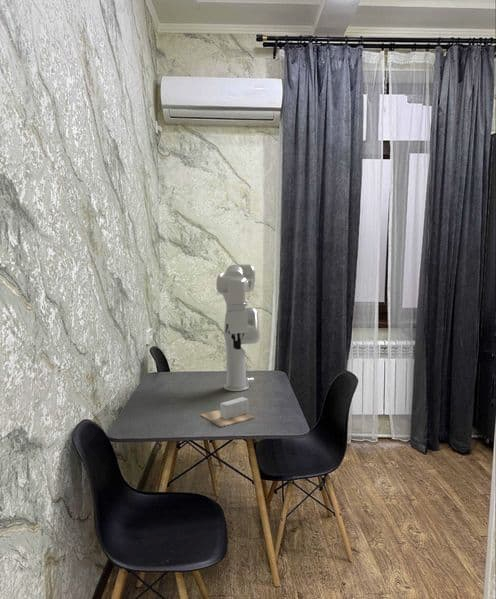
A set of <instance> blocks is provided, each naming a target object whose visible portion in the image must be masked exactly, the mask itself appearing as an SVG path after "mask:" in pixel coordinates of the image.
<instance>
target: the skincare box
mask: <svg viewBox="0 0 496 599" xmlns="http://www.w3.org/2000/svg"><path fill="white" fill-rule="evenodd" d="M249 403H250V402H249V398H246V397H245V396H244V397H243V396H242V397H237V398H234V399H231V400H227V401H224V402H221V403H220V404H219V405H220V406H219V407H220V408H219V410H220V417H222V418H224V419H226V420H227V419H230V418H233V417H237V416H240V415H243V414H246V413H247V414H249V412H250V406H249Z"/></svg>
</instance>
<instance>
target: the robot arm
mask: <svg viewBox="0 0 496 599" xmlns="http://www.w3.org/2000/svg"><path fill="white" fill-rule="evenodd" d="M255 282H256V270H255V268H254V266H253V265H252V264H248V263H247V264H231V265H229V266H227V268H226V270H225V272H221V273H219V274H218V276H217V278H216V290H217V293H219V294H221V295H222V297H223V299H224V301H225V305H226V306H225V308H226V311H225V314H224V324H223V325H224V326H223V327H224V331H223V336H224V341H225V350H226V351H225V353H226V354H225V355H226V383H225V384H223V388H224V390H226V391H230V392H242V391H247V390H248V389H249V388H250V385H249V383H252V382H254V381H255V378H254V377H247V376H246V375H247V373H246V372H247V366H246V365H247V364H246V362H247V360H246V355H247V354H246V351H245V350H244V348H243V347H242V345H255V344H258V343H259V342H260V337H261V336H260V335H261V334H260V333H261V330H260V321H259V312H258V311H257V309H256V308H255V307H247V306H248V305H247V303H246V293H252V292H253V291H254V289H255Z"/></svg>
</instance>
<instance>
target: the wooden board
mask: <svg viewBox="0 0 496 599" xmlns="http://www.w3.org/2000/svg"><path fill="white" fill-rule="evenodd" d="M200 417H203V418H204V419H205V420H207V421H209V422H211V423H212V424H213V425H216V426H218V427H219V428H224V426H225V427H229V426H231V425H235V424H238V423H242V422H247V421H249V420H254V419H255V416H253V415H251V414H249V413H246V414H243V415H240V416H237V417H233V418H230V419H227V420H226V419H224V418H222V417H220V409H217V410H214V411H209V412H205V413H201V414H200ZM228 425H229V426H228Z"/></svg>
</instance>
